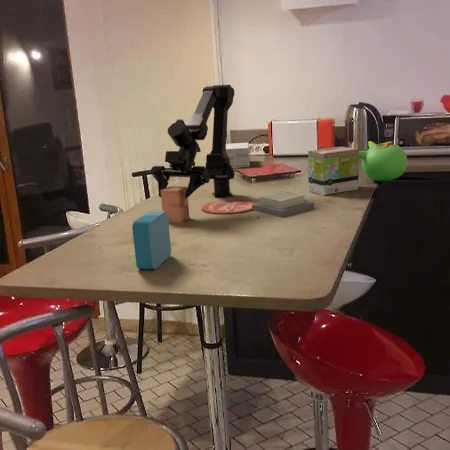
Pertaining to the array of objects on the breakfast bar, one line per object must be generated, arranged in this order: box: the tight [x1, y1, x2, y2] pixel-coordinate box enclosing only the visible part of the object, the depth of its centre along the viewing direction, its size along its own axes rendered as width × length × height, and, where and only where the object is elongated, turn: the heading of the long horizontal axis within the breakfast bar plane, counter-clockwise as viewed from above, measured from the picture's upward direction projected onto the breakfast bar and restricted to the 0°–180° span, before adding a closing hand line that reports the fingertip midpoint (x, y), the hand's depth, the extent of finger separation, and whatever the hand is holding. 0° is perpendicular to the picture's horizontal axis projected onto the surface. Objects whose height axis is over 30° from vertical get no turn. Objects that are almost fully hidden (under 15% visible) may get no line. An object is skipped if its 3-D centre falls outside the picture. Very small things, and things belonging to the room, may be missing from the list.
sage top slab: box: [259, 190, 306, 209], centre depth 190 cm, size 10×10×2 cm
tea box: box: [307, 146, 360, 196], centre depth 210 cm, size 15×10×15 cm
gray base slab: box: [251, 200, 315, 218], centre depth 191 cm, size 14×14×2 cm
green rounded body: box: [359, 140, 408, 183], centre depth 220 cm, size 18×17×15 cm
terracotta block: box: [160, 185, 190, 224], centre depth 186 cm, size 6×6×10 cm
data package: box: [131, 210, 172, 270], centre depth 146 cm, size 12×4×12 cm, turn 164°
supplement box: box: [226, 142, 251, 169], centre depth 277 cm, size 17×13×9 cm
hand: (172, 197), depth 184 cm, fingers open, 9 cm apart
